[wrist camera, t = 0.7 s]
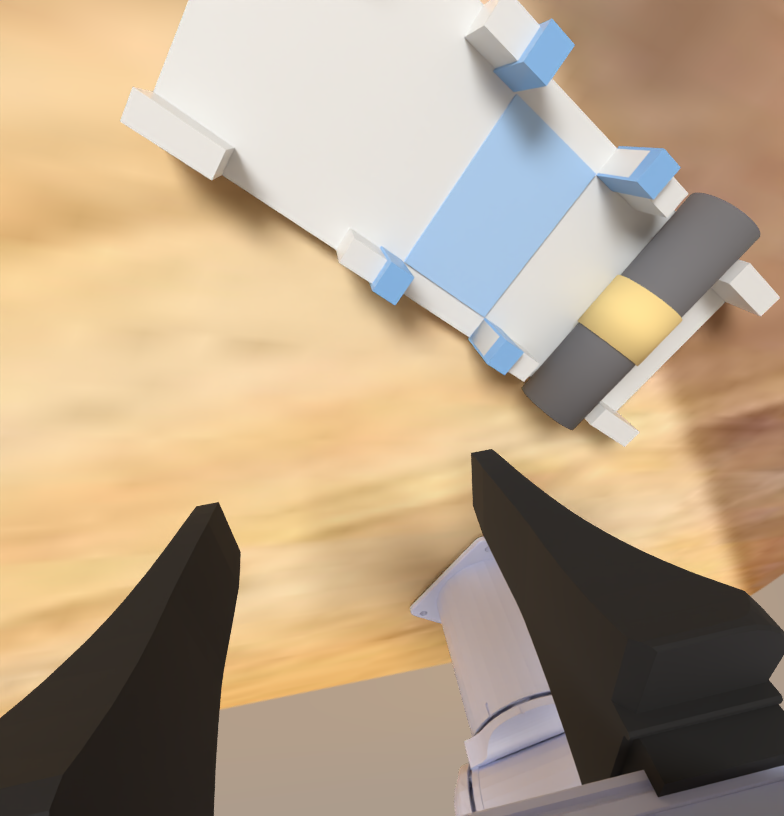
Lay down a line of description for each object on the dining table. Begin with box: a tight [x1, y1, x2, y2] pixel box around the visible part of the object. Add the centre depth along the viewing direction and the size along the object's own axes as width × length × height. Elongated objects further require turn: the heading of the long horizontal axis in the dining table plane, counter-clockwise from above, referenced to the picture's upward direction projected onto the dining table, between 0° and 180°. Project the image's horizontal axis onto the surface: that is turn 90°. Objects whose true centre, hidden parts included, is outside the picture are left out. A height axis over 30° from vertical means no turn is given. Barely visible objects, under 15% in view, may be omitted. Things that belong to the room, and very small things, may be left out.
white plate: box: [120, 0, 780, 447], centre depth 17 cm, size 24×9×4 cm, turn 55°
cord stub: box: [522, 193, 760, 430], centre depth 19 cm, size 10×3×3 cm, turn 145°
